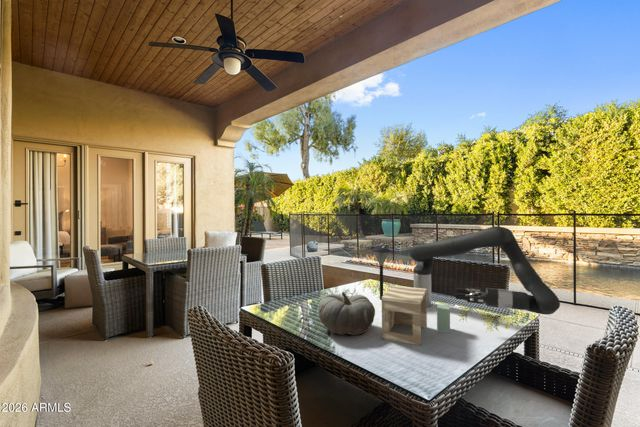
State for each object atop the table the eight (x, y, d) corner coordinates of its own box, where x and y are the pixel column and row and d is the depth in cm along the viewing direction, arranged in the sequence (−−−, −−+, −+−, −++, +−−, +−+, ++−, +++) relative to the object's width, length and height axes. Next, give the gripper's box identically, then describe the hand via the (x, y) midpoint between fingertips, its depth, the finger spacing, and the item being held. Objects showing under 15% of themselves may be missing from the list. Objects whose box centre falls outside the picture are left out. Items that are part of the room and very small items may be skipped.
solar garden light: (369, 301, 181) (369, 249, 181) (372, 295, 193) (372, 246, 192) (391, 303, 178) (391, 249, 177) (393, 297, 189) (392, 246, 189)
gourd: (308, 317, 149) (315, 281, 148) (355, 319, 158) (362, 285, 157) (327, 344, 126) (335, 302, 124) (381, 344, 134) (389, 305, 133)
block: (438, 326, 143) (437, 304, 142) (450, 328, 140) (449, 305, 140) (437, 330, 138) (437, 307, 138) (449, 332, 136) (449, 309, 136)
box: (392, 322, 149) (392, 285, 148) (426, 326, 142) (426, 288, 142) (382, 338, 130) (381, 297, 130) (420, 345, 124) (420, 301, 124)
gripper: (497, 285, 137) (456, 280, 144) (500, 293, 124) (455, 288, 131) (497, 302, 137) (456, 297, 144) (500, 312, 124) (454, 306, 131)
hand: (455, 293), depth 137 cm, fingers open, 8 cm apart
